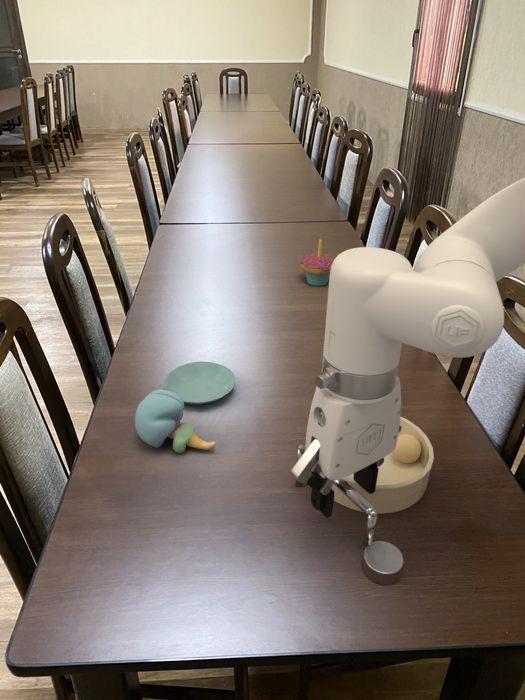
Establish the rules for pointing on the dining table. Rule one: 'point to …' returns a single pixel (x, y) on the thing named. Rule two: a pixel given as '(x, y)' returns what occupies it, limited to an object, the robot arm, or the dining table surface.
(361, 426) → the robot arm
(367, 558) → the ladle
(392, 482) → the bowl
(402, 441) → the tan ball
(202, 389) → the saucer
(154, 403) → the multicolor toy piece
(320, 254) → the cupcake
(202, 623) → the dining table surface
